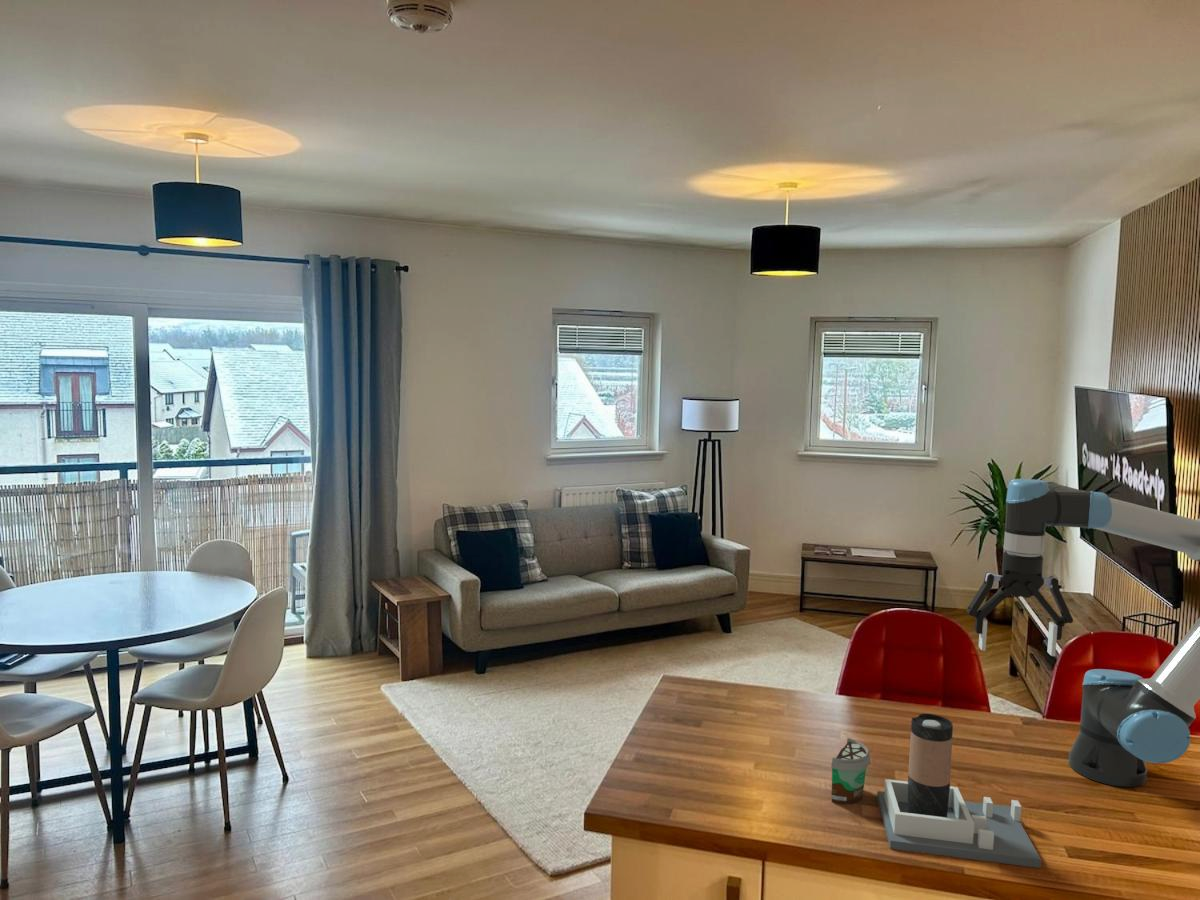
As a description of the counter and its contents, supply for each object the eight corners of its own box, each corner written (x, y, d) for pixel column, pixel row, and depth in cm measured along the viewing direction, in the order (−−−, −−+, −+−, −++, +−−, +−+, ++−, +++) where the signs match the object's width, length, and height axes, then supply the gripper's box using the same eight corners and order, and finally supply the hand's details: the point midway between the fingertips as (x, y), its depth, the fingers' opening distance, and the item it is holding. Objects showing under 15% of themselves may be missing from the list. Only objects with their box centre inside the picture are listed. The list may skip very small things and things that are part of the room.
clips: (1016, 815, 165) (1017, 800, 164) (1040, 855, 151) (1041, 840, 150) (961, 808, 167) (962, 794, 167) (979, 848, 153) (980, 832, 152)
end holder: (956, 805, 168) (957, 787, 167) (972, 843, 154) (974, 823, 154) (884, 797, 170) (885, 778, 170) (894, 834, 157) (895, 814, 156)
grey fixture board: (1010, 814, 168) (1011, 806, 168) (1040, 868, 150) (1041, 859, 149) (877, 798, 173) (877, 791, 173) (890, 848, 155) (890, 840, 155)
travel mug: (951, 832, 158) (957, 731, 156) (909, 827, 159) (914, 727, 158) (943, 811, 165) (948, 715, 163) (903, 807, 167) (908, 711, 165)
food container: (859, 814, 167) (862, 766, 166) (829, 805, 170) (831, 758, 169) (874, 788, 177) (877, 744, 176) (846, 780, 181) (848, 736, 180)
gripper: (1081, 552, 174) (1074, 650, 176) (955, 545, 179) (950, 640, 181) (1095, 560, 167) (1087, 662, 169) (963, 552, 172) (957, 651, 174)
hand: (1016, 651), depth 175 cm, fingers open, 13 cm apart
